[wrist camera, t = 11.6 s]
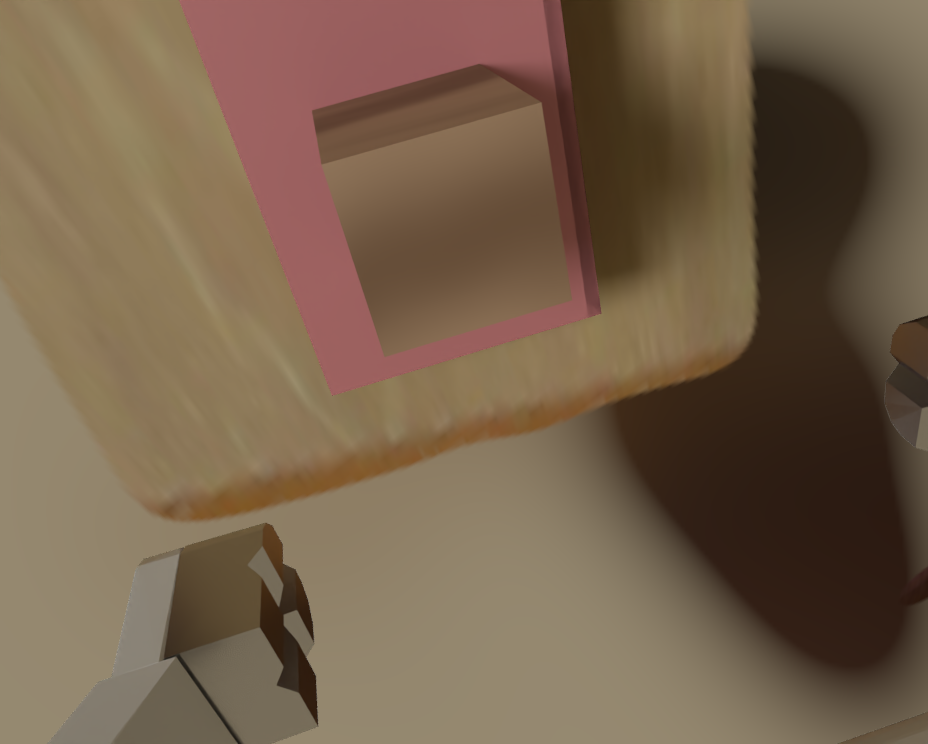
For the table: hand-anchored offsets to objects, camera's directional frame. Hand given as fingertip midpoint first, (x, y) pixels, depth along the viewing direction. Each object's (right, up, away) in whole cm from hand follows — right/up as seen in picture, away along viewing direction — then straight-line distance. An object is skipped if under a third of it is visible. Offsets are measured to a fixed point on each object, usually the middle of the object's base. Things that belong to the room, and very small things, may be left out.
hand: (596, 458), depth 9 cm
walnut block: (-3, +7, +13) cm, 15 cm away
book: (-4, +10, +17) cm, 20 cm away
